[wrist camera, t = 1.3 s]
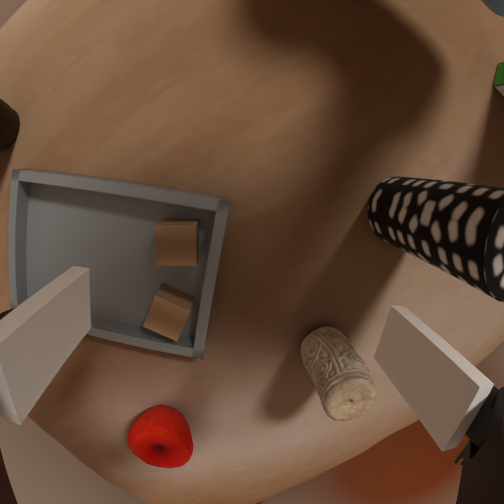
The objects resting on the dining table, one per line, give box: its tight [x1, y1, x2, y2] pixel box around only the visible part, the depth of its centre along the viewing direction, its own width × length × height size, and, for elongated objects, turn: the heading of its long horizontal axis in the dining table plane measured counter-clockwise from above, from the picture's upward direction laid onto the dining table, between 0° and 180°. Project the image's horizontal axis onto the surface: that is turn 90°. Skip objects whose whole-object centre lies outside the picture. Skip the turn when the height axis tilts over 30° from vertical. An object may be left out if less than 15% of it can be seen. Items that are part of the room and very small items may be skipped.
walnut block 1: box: [155, 219, 200, 266], centre depth 33 cm, size 4×4×4 cm
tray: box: [8, 169, 231, 359], centre depth 33 cm, size 18×26×4 cm
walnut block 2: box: [143, 283, 194, 341], centre depth 34 cm, size 4×4×4 cm
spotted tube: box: [368, 177, 504, 302], centre depth 27 cm, size 8×8×20 cm
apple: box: [128, 405, 193, 468], centre depth 38 cm, size 9×9×8 cm
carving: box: [300, 326, 376, 421], centre depth 34 cm, size 6×8×12 cm
